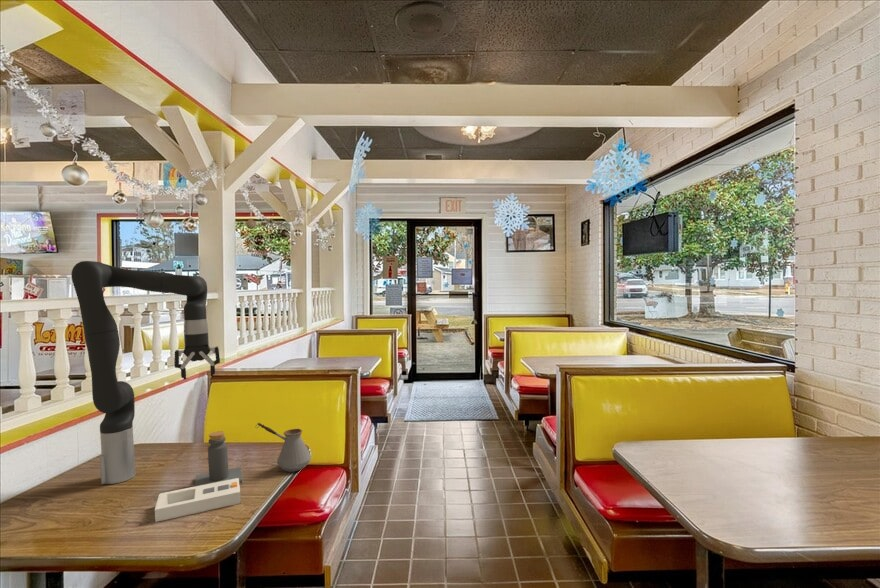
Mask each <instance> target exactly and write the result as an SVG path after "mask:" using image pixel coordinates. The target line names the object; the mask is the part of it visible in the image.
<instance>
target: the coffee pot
mask: <svg viewBox="0 0 880 588" xmlns="http://www.w3.org/2000/svg"><path fill="white" fill-rule="evenodd" d="M259 427H261V428H262V429H264V430H265V431H267V432H268V433H270V434H273V435H275V436H277V437H278V438H280V439H281V440H284V442H283V445H282V447H281V450H280V453H279V456H278V459H277V460H276V461H277V462H276V463H277V466H278V467H279V468H280V469H282V470H283V471H285V472H289V473H291V472H297V471H301V470H304V469H305V468H306V466H307V465H308V464H309V463H310V462H311V459H312V457H311V453H310V452H309V449H308V448H307V446H306V444H305V442H304V440H303V439H302V433H303V430H302V429H301V428H291V429H288V430H287V429H286V430H285V431H284V432H283V435H284V436H283V435H281V434H279V433H278V432H276V431H275V430H273V429H272V428H270V427H268V426H265V425H264V424H262V423H261V422H257V423H256V425H255V428H256V429H258V428H259Z"/></svg>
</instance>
